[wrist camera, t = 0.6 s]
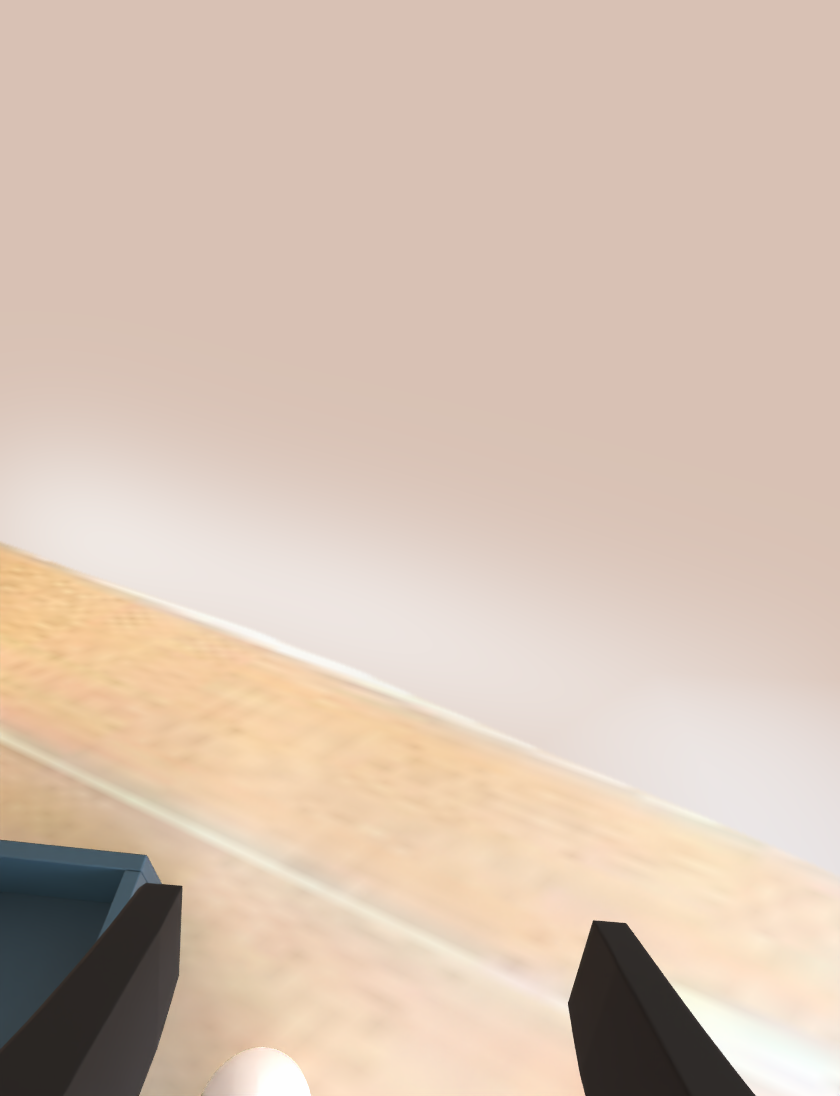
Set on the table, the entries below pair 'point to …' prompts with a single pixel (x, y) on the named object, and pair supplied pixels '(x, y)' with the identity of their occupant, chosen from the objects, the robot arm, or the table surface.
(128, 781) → the table surface
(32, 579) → the table surface
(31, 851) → the bin
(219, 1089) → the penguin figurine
